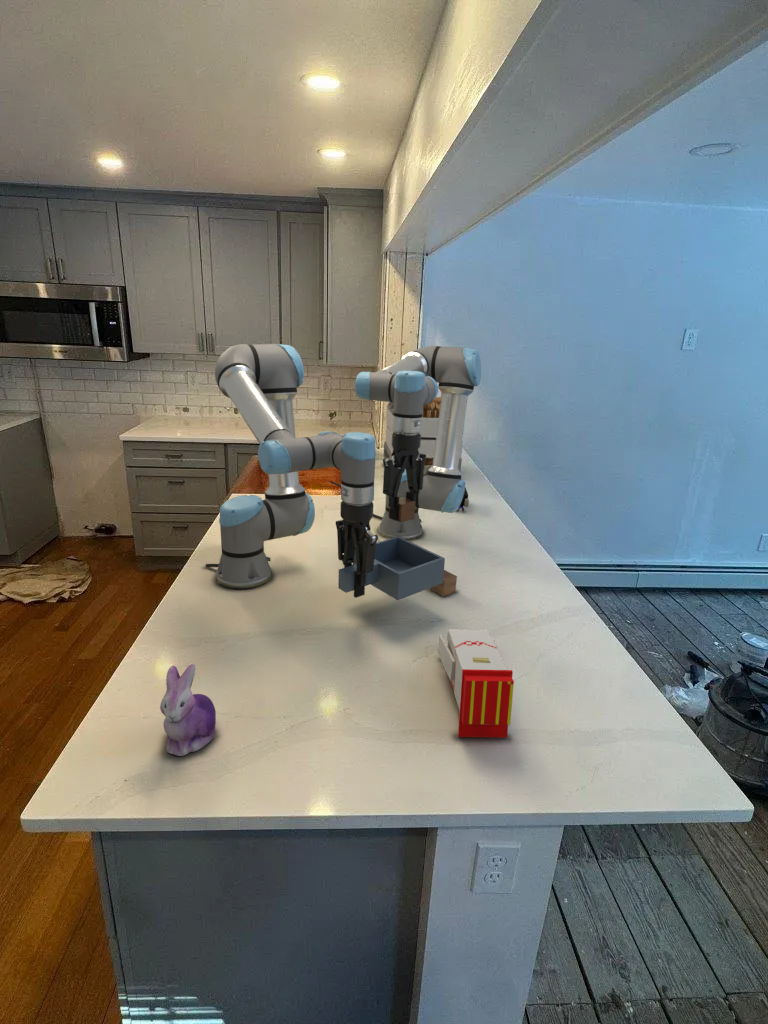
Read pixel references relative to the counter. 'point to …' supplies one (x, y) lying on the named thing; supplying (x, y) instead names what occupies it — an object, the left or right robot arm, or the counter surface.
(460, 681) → the toy
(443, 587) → the walnut block
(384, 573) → the tray
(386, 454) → the white crate
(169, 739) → the figurine
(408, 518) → the walnut block
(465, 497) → the figurine character
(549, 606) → the counter surface
